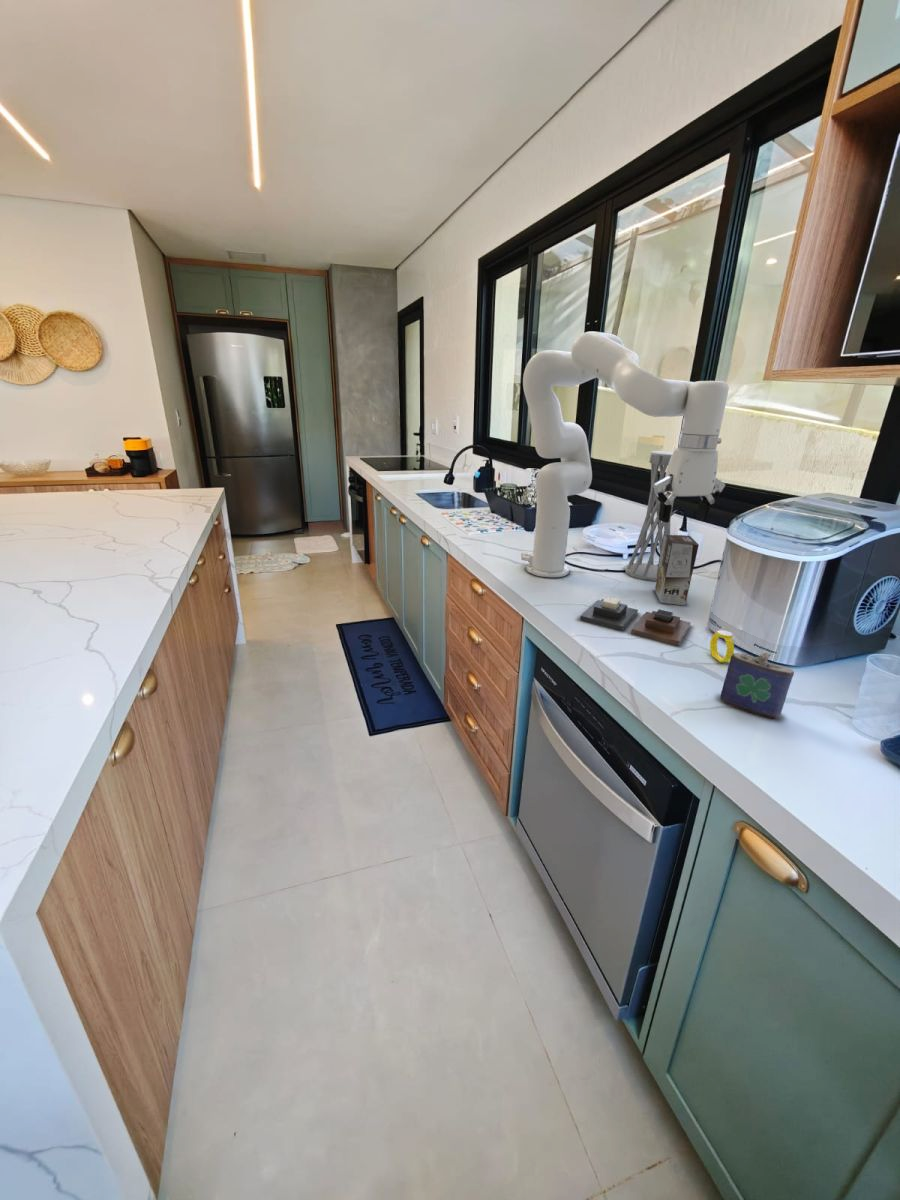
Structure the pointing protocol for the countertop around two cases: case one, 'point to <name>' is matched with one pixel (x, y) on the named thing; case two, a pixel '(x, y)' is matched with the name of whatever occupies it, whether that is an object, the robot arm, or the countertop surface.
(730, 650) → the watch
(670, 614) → the dark key
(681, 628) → the walnut key block
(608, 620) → the black key block
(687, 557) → the coffee box
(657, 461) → the grey lattice tower
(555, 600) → the countertop surface
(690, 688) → the countertop surface
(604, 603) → the ivory key
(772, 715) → the flask
